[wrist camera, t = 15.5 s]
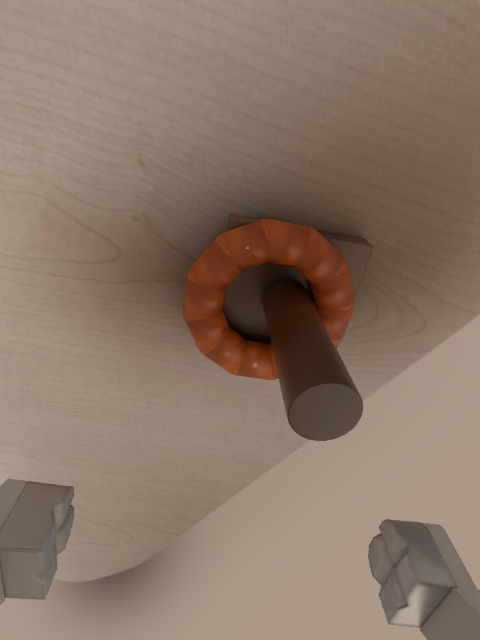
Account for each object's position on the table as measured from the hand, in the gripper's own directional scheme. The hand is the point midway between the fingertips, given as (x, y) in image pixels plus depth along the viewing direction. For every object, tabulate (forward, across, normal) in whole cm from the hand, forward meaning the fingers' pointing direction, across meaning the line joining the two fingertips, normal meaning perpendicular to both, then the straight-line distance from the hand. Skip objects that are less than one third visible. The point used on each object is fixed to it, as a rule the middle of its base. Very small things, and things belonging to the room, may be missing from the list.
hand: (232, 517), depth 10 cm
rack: (+18, -4, 0) cm, 18 cm away
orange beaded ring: (+15, -2, 0) cm, 15 cm away
